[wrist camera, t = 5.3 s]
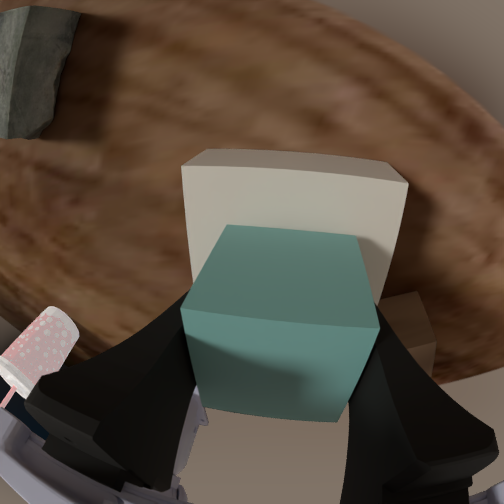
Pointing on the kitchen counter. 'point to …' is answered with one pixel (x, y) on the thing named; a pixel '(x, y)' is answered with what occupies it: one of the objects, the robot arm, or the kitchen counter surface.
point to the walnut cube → (411, 327)
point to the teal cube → (280, 323)
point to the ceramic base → (294, 200)
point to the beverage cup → (37, 351)
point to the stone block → (32, 66)
